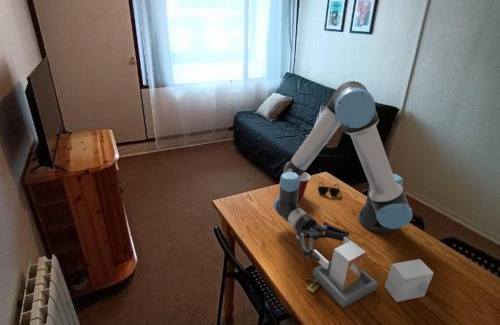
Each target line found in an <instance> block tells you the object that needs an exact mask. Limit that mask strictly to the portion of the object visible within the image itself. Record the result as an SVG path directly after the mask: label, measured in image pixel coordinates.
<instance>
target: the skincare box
mask: <svg viewBox="0 0 500 325" xmlns="http://www.w3.org/2000/svg"><path fill="white" fill-rule="evenodd" d="M433 276H434V271H433V270H432V269H431V268H430V267H429V266H427V265H426V263H424V261H422V259H420V258H418V259H412V260H408V261H401V262H397V263H392V264H391V266H390V270H389V273H388V276H387V279H386V282H385V285H384V288H385V289H386V291H387V292H388V293H389V294H390V296H391V297H392V299H393V300H394V301H395V302H396V303H399V302H403V301H408V300H412V299H416V298H418V299H419V298H422V297H425V295H426V292H427V291H428V288H429V285H430V282H431V281H432V278H433Z"/></svg>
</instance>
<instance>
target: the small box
mask: <svg viewBox="0 0 500 325" xmlns="http://www.w3.org/2000/svg"><path fill="white" fill-rule="evenodd" d="M352 241H353V240H352ZM352 241H349V242H347V243H345V244H343V243H342V244H341V245H340V246H338V247H336V248H334V249H333V253H332V258H331V260H332V263H331V269H330V274H329V280H330V281H331V282H332V283H334V284H335V285H336V286H337V287H338V288H339V289H340V290H341V291H344V290H346V289H347V288H349V287H350V286H352V285H354V284H355V283H357V282H359V279H360V275H361V271H362V269H363V267H364V262H365V258H366V255H367V251H365V250H364V249H363V248H362V247H360V246H359V245H358V244H357V243H355V242H354V241H353V242H352Z"/></svg>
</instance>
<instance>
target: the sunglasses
mask: <svg viewBox="0 0 500 325" xmlns="http://www.w3.org/2000/svg"><path fill="white" fill-rule="evenodd" d="M320 184H322V185H323V186H320ZM336 185H337V187H338V188H337V187H335V186H336ZM339 185H340V184H338V183H334V185H333V186H334V187H331V186H325V185H324V182H323V181H320V182H318V186H317V191H318V193H319V194H321V195H324V196H325V195H327V193H329V194H330V197H333V196H334V197H337V196H338V195H339V194H340V192H341V190H340V186H339Z"/></svg>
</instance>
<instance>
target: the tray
mask: <svg viewBox="0 0 500 325" xmlns="http://www.w3.org/2000/svg"><path fill="white" fill-rule="evenodd" d="M328 262H329V266H328V269H325V268H324V267H323V266H322V265H321V264H320V265H318V266H316V267H314V268H313V271H312V277H313V278H314V279H315V280H316V279H317V280H318V281H317V280H316V281H317V282H318V284H319V285H321V287H323V289H324V291H326V292H327V293H328V294H329V295H330V297H332V298H333V300H335V302H336V303H337V304H338V305H339V306H340V307H341V309H345V308H347V307H349V306H350V305H352V304H354V303H355V302H357V301H359V300H361V299H362V298H365V297H366V296H368V295H370V294H371V293H373V292H375V291H377V287H378V284H379V282H378V281H377V280H376V279H374V278H373V277H372V276H371V275H370V274H369V273H367V272H366V271H365V270H364V269H363V268H362V271H361V275H360V279H359V282H357V283H355V284H354V285H352V286H350V287H349V288H347V289H346V290H344V291H341V290H340V289H339V288H338V287H337V286H336V285H335V284H334V283H332V282H331V281H330V280H329V274H330V269H331V263H332V259H331V260H329V261H328Z"/></svg>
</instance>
